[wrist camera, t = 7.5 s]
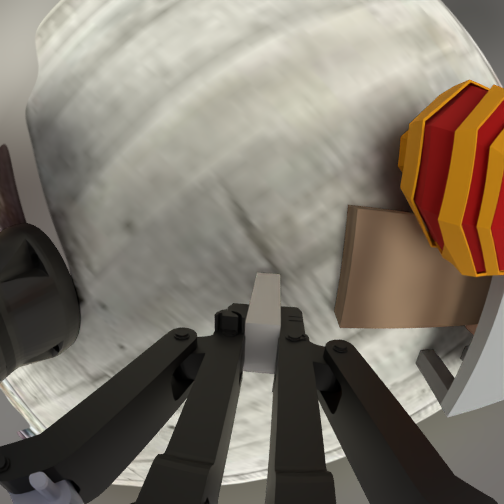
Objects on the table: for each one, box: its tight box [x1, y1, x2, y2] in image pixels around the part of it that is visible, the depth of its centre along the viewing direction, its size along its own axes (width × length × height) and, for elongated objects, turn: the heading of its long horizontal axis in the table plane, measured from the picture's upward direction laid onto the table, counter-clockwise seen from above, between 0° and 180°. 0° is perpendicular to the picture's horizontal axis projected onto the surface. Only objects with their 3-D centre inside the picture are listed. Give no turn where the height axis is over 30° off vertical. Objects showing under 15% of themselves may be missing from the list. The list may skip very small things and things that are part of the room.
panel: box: [334, 205, 493, 328], centre depth 17 cm, size 14×8×3 cm, turn 88°
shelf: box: [416, 275, 504, 417], centre depth 14 cm, size 8×16×8 cm, turn 177°
